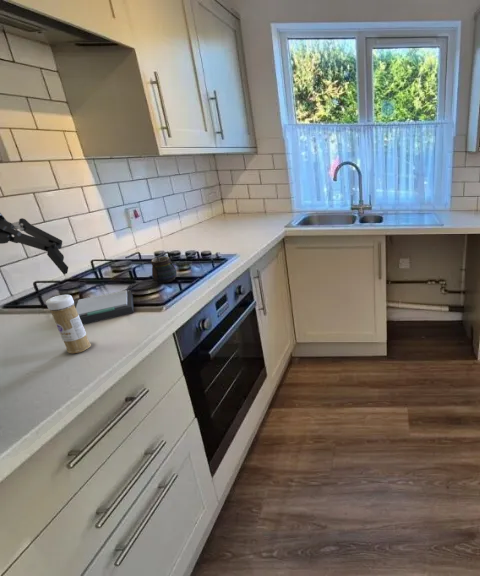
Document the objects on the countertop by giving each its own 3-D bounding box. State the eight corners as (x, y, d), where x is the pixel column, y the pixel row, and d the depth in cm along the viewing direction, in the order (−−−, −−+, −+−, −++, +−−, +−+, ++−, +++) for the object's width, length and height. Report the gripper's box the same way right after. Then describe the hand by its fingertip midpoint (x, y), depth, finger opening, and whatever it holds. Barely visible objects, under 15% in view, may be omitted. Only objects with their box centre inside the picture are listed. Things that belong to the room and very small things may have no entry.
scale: (71, 327, 96) (68, 318, 95) (77, 307, 107) (74, 299, 106) (133, 312, 103) (130, 304, 102) (133, 296, 114) (130, 288, 113)
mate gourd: (177, 275, 130) (169, 248, 126) (179, 281, 124) (172, 254, 120) (154, 280, 126) (145, 252, 122) (155, 286, 120) (147, 258, 116)
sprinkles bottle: (62, 354, 84) (39, 302, 79) (79, 343, 88) (58, 293, 83) (80, 354, 84) (58, 302, 78) (96, 343, 88) (76, 294, 83)
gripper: (38, 211, 97) (89, 271, 97) (-106, 235, 76) (-42, 311, 76) (40, 192, 92) (93, 255, 92) (-113, 212, 72) (-45, 292, 72)
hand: (32, 280), depth 84 cm, fingers open, 13 cm apart
